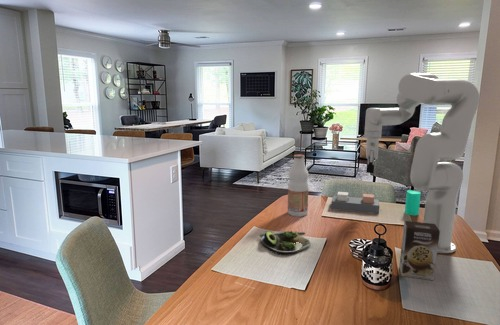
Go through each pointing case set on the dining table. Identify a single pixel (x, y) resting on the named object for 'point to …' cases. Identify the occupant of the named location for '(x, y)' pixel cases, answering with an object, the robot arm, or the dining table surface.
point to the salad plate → (284, 242)
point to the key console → (355, 205)
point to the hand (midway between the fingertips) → (369, 172)
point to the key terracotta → (368, 198)
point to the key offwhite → (342, 196)
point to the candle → (412, 202)
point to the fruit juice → (298, 188)
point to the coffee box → (419, 250)
